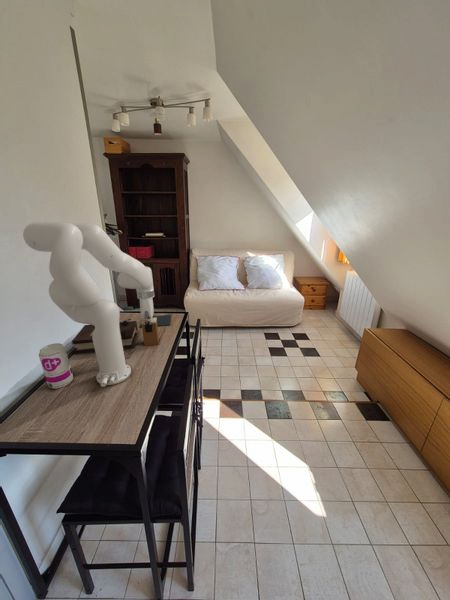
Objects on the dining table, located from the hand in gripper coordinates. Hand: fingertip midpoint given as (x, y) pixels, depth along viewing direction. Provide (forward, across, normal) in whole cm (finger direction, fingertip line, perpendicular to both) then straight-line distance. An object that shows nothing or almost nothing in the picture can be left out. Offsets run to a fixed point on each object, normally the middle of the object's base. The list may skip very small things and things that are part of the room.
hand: (150, 327), depth 120 cm
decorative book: (+8, -4, -21) cm, 23 cm away
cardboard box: (+8, 0, 0) cm, 8 cm away
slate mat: (+8, -25, 0) cm, 26 cm away
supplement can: (+8, +25, -31) cm, 41 cm away
